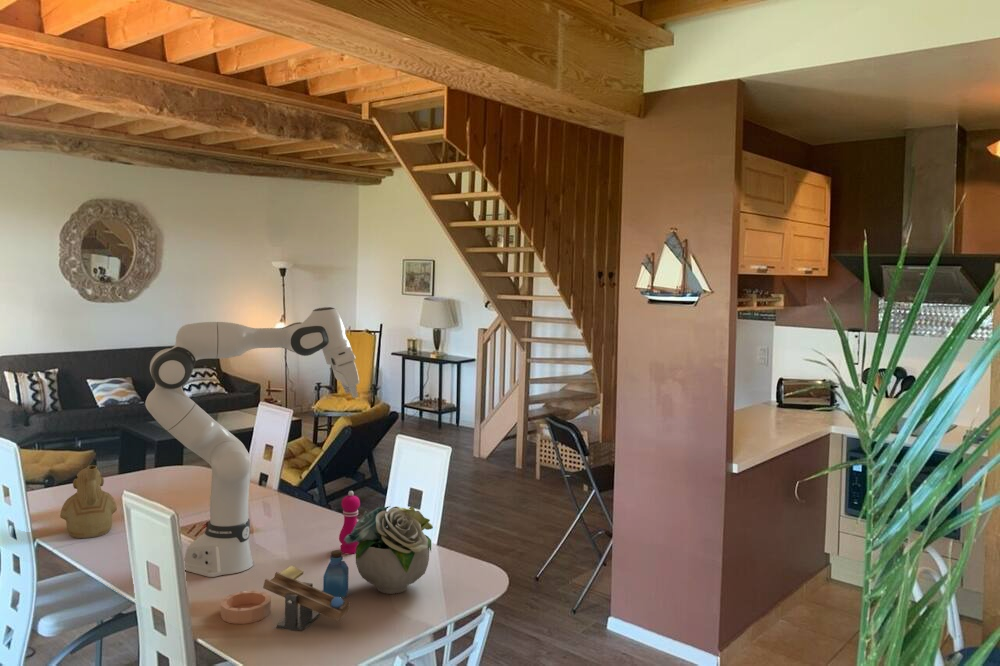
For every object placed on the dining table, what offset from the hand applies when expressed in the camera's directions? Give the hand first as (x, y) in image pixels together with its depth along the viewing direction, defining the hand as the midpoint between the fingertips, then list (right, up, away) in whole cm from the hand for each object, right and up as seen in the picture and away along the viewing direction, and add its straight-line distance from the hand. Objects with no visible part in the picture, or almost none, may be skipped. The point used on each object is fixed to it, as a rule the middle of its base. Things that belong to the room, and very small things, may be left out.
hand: (351, 394), depth 241 cm
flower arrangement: (+17, -54, -26) cm, 63 cm away
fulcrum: (-4, -55, -48) cm, 73 cm away
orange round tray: (-19, -54, -45) cm, 73 cm away
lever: (-1, -49, -45) cm, 67 cm away
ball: (+6, -49, -51) cm, 71 cm away
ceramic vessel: (-93, -49, +13) cm, 105 cm away
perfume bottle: (+1, -54, -30) cm, 62 cm away
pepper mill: (-1, -52, +3) cm, 52 cm away
